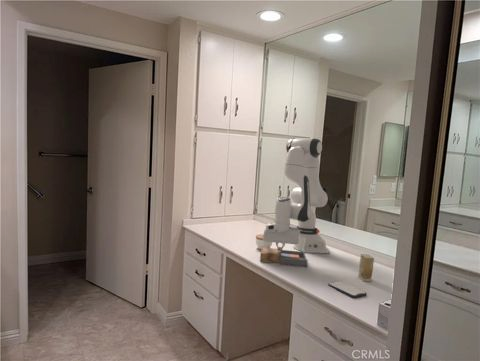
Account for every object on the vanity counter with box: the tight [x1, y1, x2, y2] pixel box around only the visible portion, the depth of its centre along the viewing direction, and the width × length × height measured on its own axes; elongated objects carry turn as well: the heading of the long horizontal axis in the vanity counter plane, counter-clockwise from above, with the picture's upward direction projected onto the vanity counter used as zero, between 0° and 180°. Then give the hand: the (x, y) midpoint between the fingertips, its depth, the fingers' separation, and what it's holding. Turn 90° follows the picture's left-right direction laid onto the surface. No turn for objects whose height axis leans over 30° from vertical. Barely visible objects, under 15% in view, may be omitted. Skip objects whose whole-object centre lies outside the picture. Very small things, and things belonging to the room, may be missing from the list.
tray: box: [279, 249, 308, 268], centre depth 193 cm, size 14×16×4 cm
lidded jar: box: [255, 233, 273, 250], centre depth 213 cm, size 11×11×9 cm
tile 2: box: [281, 253, 290, 259], centre depth 193 cm, size 5×5×2 cm
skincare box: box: [357, 253, 375, 283], centre depth 170 cm, size 6×4×12 cm
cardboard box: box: [259, 247, 281, 264], centre depth 194 cm, size 11×12×4 cm
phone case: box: [327, 280, 367, 299], centre depth 156 cm, size 9×2×16 cm
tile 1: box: [290, 254, 299, 259], centre depth 192 cm, size 5×5×2 cm
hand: (279, 250), depth 193 cm, fingers closed
